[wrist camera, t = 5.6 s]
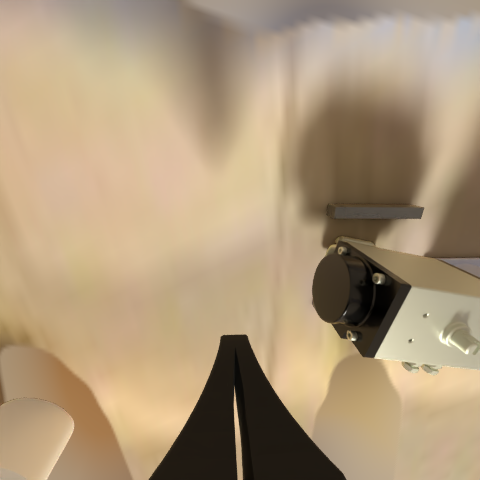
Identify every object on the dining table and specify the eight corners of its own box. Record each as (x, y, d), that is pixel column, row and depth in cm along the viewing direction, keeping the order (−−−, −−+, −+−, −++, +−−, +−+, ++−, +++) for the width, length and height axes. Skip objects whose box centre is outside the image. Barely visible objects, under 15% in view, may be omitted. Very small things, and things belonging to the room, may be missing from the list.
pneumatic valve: (299, 220, 21) (391, 293, 9) (409, 241, 22) (602, 326, 11) (283, 272, 22) (344, 386, 11) (386, 289, 24) (531, 404, 13)
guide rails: (410, 204, 21) (424, 207, 19) (382, 302, 24) (392, 311, 23) (328, 203, 20) (335, 207, 19) (312, 304, 24) (317, 313, 22)
